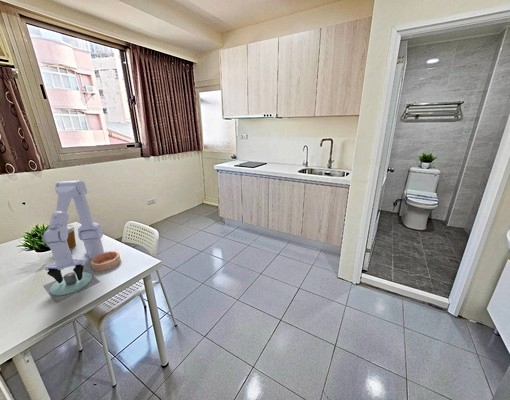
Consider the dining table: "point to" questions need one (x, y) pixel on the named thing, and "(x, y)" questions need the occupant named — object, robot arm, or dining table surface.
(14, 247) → the dining table surface
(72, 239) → the disposable coffee cup
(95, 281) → the mat
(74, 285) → the lid
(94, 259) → the bowl
